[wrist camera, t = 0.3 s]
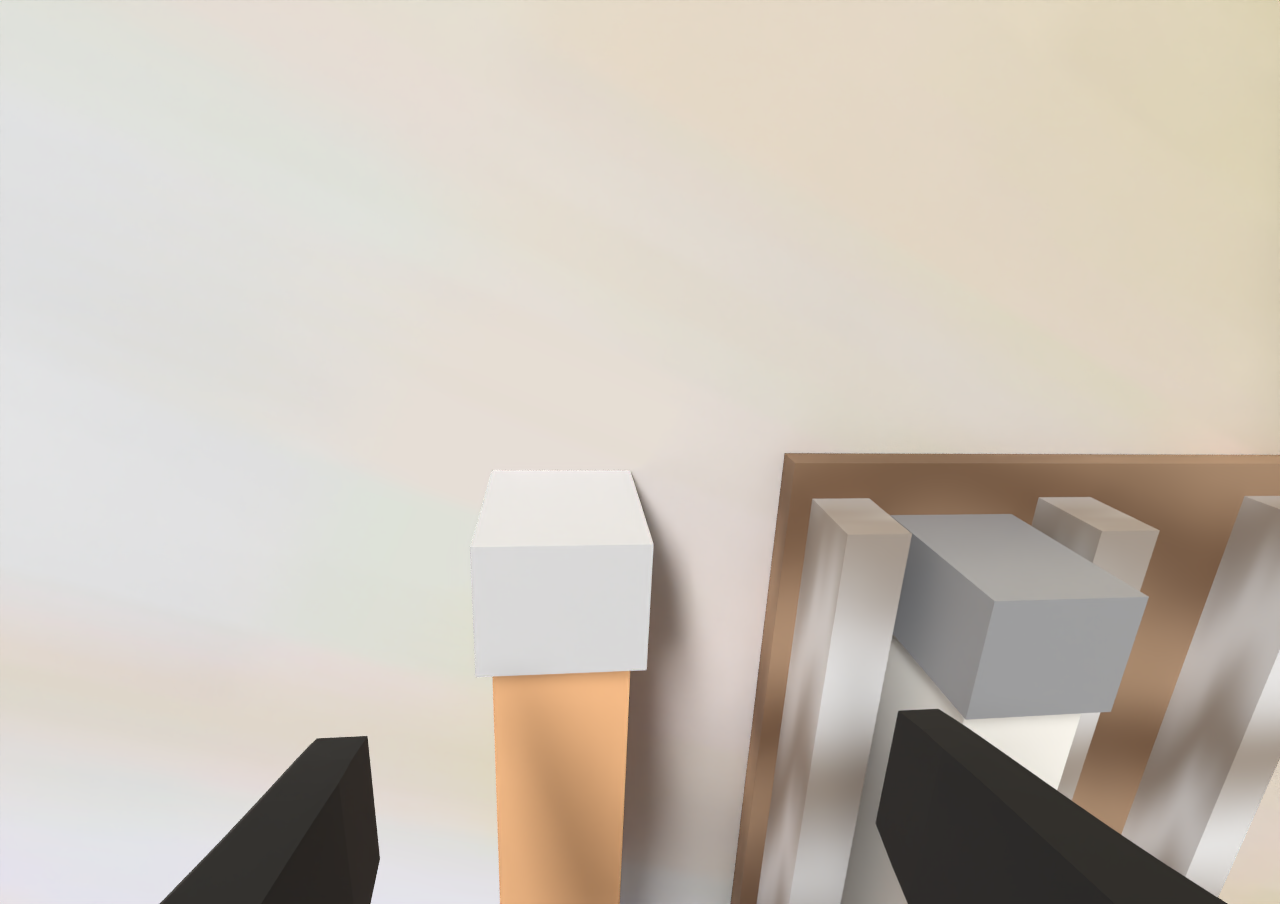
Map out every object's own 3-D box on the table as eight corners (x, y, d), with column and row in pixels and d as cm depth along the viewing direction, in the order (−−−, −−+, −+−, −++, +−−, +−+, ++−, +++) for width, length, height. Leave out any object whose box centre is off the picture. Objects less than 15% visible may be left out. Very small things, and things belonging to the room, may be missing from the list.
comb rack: (1125, 891, 25) (1198, 974, 22) (727, 928, 23) (751, 1025, 20) (1291, 455, 19) (1417, 492, 16) (785, 453, 17) (829, 495, 14)
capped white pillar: (921, 883, 22) (1004, 1031, 18) (822, 892, 22) (885, 1046, 18) (1011, 514, 18) (1149, 597, 14) (890, 515, 17) (994, 601, 13)
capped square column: (614, 863, 21) (627, 1014, 17) (504, 872, 21) (491, 1029, 17) (630, 470, 17) (653, 544, 13) (492, 470, 16) (469, 547, 12)
